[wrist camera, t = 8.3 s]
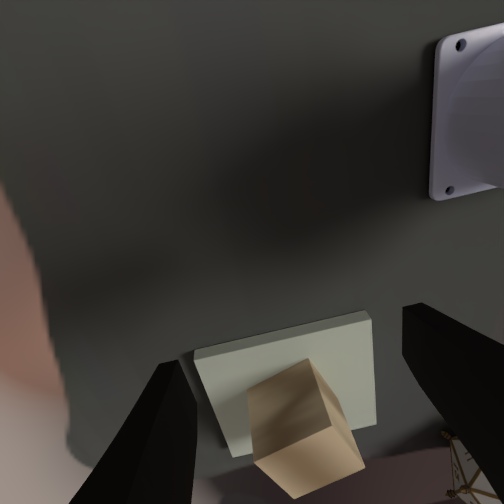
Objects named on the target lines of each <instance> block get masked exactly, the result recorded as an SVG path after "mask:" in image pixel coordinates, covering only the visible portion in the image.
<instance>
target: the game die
mask: <svg viewBox="0 0 504 504" xmlns="http://www.w3.org/2000/svg"><path fill="white" fill-rule="evenodd" d="M440 432H441V434H442V436H443V437H445V439H448V440H449V441H450V451H451V463H452V475H453V486H454V490H449V491H448V490H447V493H446V496H449V497H450V498H452V497H454V496H455V495H457V496H458V497H459V498H460V499H461V500H462V501H463V502H464V503H465V504H502V503H501V501H500V499H499V498H498V496H497V495H496V493H495V491H494V490H493V488H492V487H491V485H490V483H489V482H488V480H487V478H486V477H485V475H484V474H483V472H482V471H481V469H480V468H479V466H478V465H477V464H476V462H475V461H474V459H473V458H472V456H471V455H470V454H469V452H468V451H467V450H466V448H465V447H464V446H463V444H462V443H461V441H460V440H459V439H458V437H457V436H454V437H451V436H450V435H449V434H448V433H447V432H444V431H440Z"/></svg>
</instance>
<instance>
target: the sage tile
mask: <svg viewBox="0 0 504 504" xmlns="http://www.w3.org/2000/svg"><path fill="white" fill-rule="evenodd" d="M307 358H309V359H310V361H311V362H312V364H313V365H314V366H315V368H316V369H317V370H318V372H319V373H320V375H321V376H322V377H323V379H324V380H325V382H326V383H327V384H328V386H329V387H330V388H331V390H332V391H333V393H334V394H335V395H336V397H337V398H338V401H339V403H340V406H341V408H342V410H343V413H344V415H345V418H346V420H347V423H348V425H349V428H350V430H354V429H358V428H362V427H367V426H371V425H375V424H376V404H375V384H374V364H373V344H372V323H371V318H370V317H369V315H368V314H367V312H366V311H365V310H363V311H359V312H354V313H350V314H346V315H341V316H337V317H333V318H329V319H324V320H320V321H316V322H311V323H307V324H303V325H299V326H294V327H290V328H286V329H282V330H277V331H273V332H269V333H264V334H260V335H256V336H252V337H247V338H243V339H239V340H235V341H230V342H226V343H222V344H217V345H213V346H209V347H205V348H200V349H196V350H195V351H194V363H195V365H196V368H197V370H198V373H199V375H200V378H201V380H202V383H203V385H204V388H205V390H206V392H207V395H208V397H209V400H210V402H211V405H212V407H213V410H214V412H215V415H216V417H217V420H218V422H219V425H220V427H221V430H222V432H223V434H224V437H225V439H226V442H227V444H228V447H229V449H230V452H231V454H232V457H237V456H241V455H246V454H250V453H253V449H252V439H251V429H250V419H249V409H248V398H247V389H249V388H251V387H253V386H255V385H257V384H259V383H260V382H262V381H264V380H266V379H268V378H270V377H272V376H274V375H276V374H278V373H280V372H282V371H284V370H286V369H288V368H290V367H292V366H294V365H296V364H297V363H299V362H301V361H303V360H305V359H307Z"/></svg>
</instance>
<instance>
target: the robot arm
mask: <svg viewBox="0 0 504 504" xmlns="http://www.w3.org/2000/svg"><path fill="white" fill-rule="evenodd" d="M458 40H459V41H460V43H461V46H460V49H459V50H458V51H457V50H456V47H455V46H456V43H457V42H458ZM449 186H450V189H449V191H448V192H447V193H445V191H446V189H447V188H448V187H449ZM497 187H500V188H503V189H504V23H500V24H496V25H491V26H487V27H483V28H479V29H475V30H470V31H466V32H462V33H458V34H454V35H450V36H446V37H444V38H442V39H441V40H440V41H439V42H438V44H437V46H436V50H435V68H434V90H433V112H432V134H431V156H430V178H429V196H430V198H431V199H434V200H436V201H441V200H446V199H450V198H454V197H458V196H463V195H467V194H471V193H475V192H480V191H484V190H488V189H492V188H497ZM402 355H403V357H404V359H405V361H406V363H407V365H408V366H409V368H410V370H411V372H412V373H413V375H414V377H415V379H416V380H417V382H418V384H419V385H420V387H421V388H422V390H423V391H424V392H425V394H426V395H427V396H428V398H429V399H430V401H431V402H432V403H433V405H434V406H435V407H436V409H437V410H438V412H439V413H440V414H441V416H442V417H443V418H444V420H445V421H446V422H447V424H448V425H449V427H450V428H451V429H452V431H453V432H454V433H455V435H456V436H457V437H458V439H459V440H460V441H461V443H462V444H463V446H464V447H465V448H466V450H467V451H468V452H469V454H470V455H471V456H472V458H473V459H474V461H475V462H476V464H477V465H478V466H479V468H480V469H481V471H482V472H483V474H484V475H485V477H486V478H487V480H488V482H489V483H490V485H491V487H492V488H493V490H494V491H495V493H496V495H497V496H498V498H499V499H500V501H501V503H502V504H504V345H503V344H501V343H499V342H497V341H495V340H493V339H491V338H489V337H487V336H485V335H483V334H481V333H479V332H477V331H475V330H473V329H471V328H469V327H467V326H466V325H464V324H462V323H460V322H458V321H456V320H454V319H452V318H450V317H449V316H447V315H445V314H443V313H441V312H439V311H437V310H435V309H434V308H432V307H430V306H428V305H426V304H424V303H418V304H413V305H409V306H405V307H403V314H402ZM196 447H197V402H196V400H195V397H194V395H193V393H192V391H191V388H190V386H189V384H188V381H187V379H186V377H185V374H184V372H183V370H182V367H181V365H180V363H179V361H178V360H174V361H169V362H165V363H161V364H159V365H158V367H157V368H156V370H155V371H154V373H153V375H152V377H151V378H150V380H149V382H148V383H147V385H146V387H145V389H144V390H143V392H142V394H141V395H140V397H139V399H138V401H137V402H136V404H135V406H134V407H133V409H132V411H131V412H130V414H129V415H128V417H127V419H126V420H125V422H124V424H123V425H122V427H121V429H120V430H119V432H118V433H117V435H116V436H115V438H114V440H113V441H112V443H111V444H110V446H109V447H108V449H107V450H106V452H105V453H104V455H103V456H102V458H101V459H100V461H99V462H98V464H97V465H96V467H95V468H94V469H93V471H92V472H91V474H90V475H89V477H88V478H87V480H86V481H85V482H84V484H83V485H82V486H81V488H80V489H79V491H78V492H77V493H76V495H75V496H74V497H73V498H72V500H71V501H70V502H69V504H191V498H192V488H193V479H194V468H195V458H196Z"/></svg>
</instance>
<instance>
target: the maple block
mask: <svg viewBox="0 0 504 504" xmlns="http://www.w3.org/2000/svg"><path fill="white" fill-rule="evenodd" d="M247 398H248V409H249V419H250V429H251V439H252V449H253V459H254V463H255V464H256V465H257V466H258V467H259V468H261V469H262V470H263V471H264V472H265V473H266V474H267V475H268V476H269V477H270V478H272V479H273V480H274V481H275V482H276V483H277V484H278V485H279V486H280V487H281V488H282V489H284V490H285V491H286V492H287V493H288V494H289V495H290V496H291V497H293V499H296V498H298V497H300V496H302V495H305V494H307V493H309V492H311V491H314V490H316V489H318V488H321V487H323V486H325V485H327V484H330V483H332V482H334V481H337V480H339V479H341V478H343V477H346V476H348V475H350V474H353V473H355V472H357V471H359V470H361V469H364V468H365V465H364V463H363V460H362V458H361V455H360V453H359V450H358V448H357V445H356V443H355V440H354V438H353V435H352V433H351V430H350V428H349V425H348V423H347V420H346V418H345V415H344V413H343V410H342V408H341V406H340V403H339V401H338V398H337V397H336V395H335V394H334V393H333V391H332V390H331V388H330V387H329V386H328V384H327V383H326V382H325V380H324V379H323V377H322V376H321V375H320V373H319V372H318V370H317V369H316V368H315V366H314V365H313V364H312V362H311V361H310V359H309V358H307V359H305V360H303V361H301V362H299V363H297V364H296V365H294V366H292V367H290V368H288V369H286V370H284V371H282V372H280V373H278V374H276V375H274V376H272V377H270V378H268V379H266V380H264V381H262V382H260V383H259V384H257V385H255V386H253V387H251V388H249V389H247Z"/></svg>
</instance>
